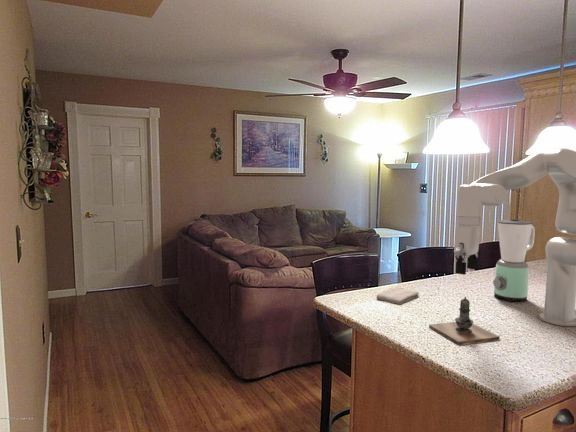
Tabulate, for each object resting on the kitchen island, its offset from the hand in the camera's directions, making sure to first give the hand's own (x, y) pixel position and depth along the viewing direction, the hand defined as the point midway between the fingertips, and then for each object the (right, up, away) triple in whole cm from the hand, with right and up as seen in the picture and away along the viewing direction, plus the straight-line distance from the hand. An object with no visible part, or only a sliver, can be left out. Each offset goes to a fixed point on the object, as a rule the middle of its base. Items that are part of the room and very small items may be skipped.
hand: (466, 271), depth 145 cm
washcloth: (-12, -18, +44) cm, 49 cm away
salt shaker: (0, -21, +2) cm, 21 cm away
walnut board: (0, -22, +2) cm, 22 cm away
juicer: (+38, -18, +43) cm, 60 cm away
